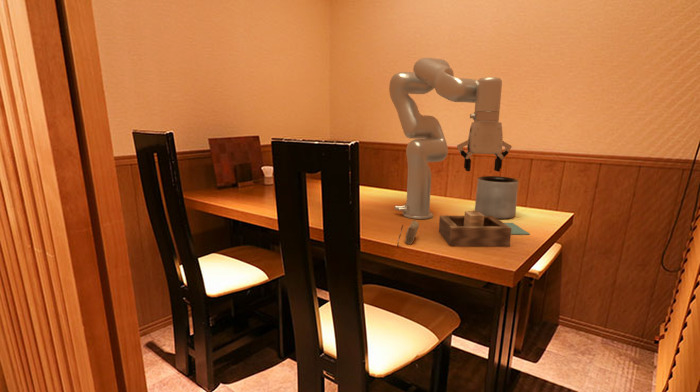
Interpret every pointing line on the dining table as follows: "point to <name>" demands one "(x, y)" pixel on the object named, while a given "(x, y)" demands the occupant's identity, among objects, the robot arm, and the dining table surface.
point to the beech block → (473, 218)
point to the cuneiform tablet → (410, 232)
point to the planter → (496, 196)
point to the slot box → (474, 232)
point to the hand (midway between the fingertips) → (482, 170)
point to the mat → (516, 229)
